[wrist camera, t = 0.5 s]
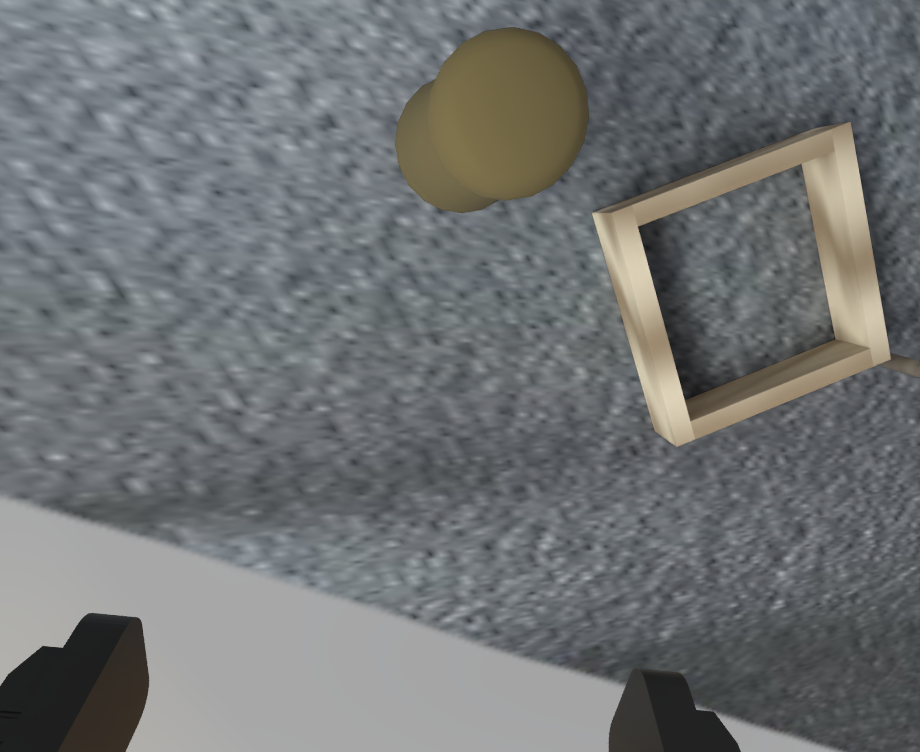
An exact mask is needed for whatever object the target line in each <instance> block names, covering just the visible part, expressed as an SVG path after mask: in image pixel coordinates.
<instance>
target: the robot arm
mask: <svg viewBox="0 0 920 752" xmlns="http://www.w3.org/2000/svg"><path fill="white" fill-rule="evenodd" d="M148 688H149V674H148V666H147V658H146V651H145V643H144V636H143V628H142V622H141V620H140V619H139V618H137V617H127V616H117V615H107V614H97V613H89V614H87V615H86V616H84V617H83V618H82V619H81V621H80V622H79V623H78V625H77V626H76V628H75V630H74V631H73V633H72V635H71V636H70V638H69V639H68V641H67V642H66V644H65V645H64V647H63V648H58V647H47V646H42V647H41V648H40V649H39V650H37V651H36V652H35V653H34V654H32V655H31V656H30V657H29V658H28V659H26V660H25V661H24V662H23V663H21V664H20V665H19V666H18V667H17V668H16V669H14V670H13V671H12V672H11V673H10V674H8V676H7V677H6V679H5V680H4V682H3V683H2V684H1V686H0V752H126V749H127V747H128V745H129V743H130V740H131V739H132V736H133V734H134V732H135V730H136V728H137V725H138V723H139V721H140V718H141V716H142V713H143V710H144V707H145V703H146V699H147V695H148ZM609 752H741V751H740V749H739V746H738V744H737V742H736V741H735V739H734V738H733V737H732V735H731V734H730V733H729V731H728V730H727V729H726V728H725V726H724V725H723V723H722V722H721V721H720V719H719V718H718V717H717V715H716V714H715V713H714V712H711V711H701V710H696V708H695V705H694V702H693V699H692V696H691V693H690V690H689V687H688V684H687V682H686V680H685V678H684V676H683V675H682V674H681V673H678V672H668V671H658V670H648V669H637V668H636V669H634V670H633V671H632V672H631V674H630V677H629V679H628V682H627V684H626V687H625V690H624V692H623V694H622V697H621V700H620V702H619V705H618V707H617V710H616V712H615V715H614V717H613V720H612V723H611V727H610V733H609Z"/></svg>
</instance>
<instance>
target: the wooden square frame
mask: <svg viewBox="0 0 920 752" xmlns="http://www.w3.org/2000/svg"><path fill="white" fill-rule="evenodd" d="M800 164H802V169H803V174H804V179H805V184H806V189H807V195H808V200H809V205H810V210H811V215H812V220H813V225H814V231H815V236H816V241H817V246H818V251H819V256H820V262H821V267H822V272H823V277H824V282H825V287H826V293H827V298H828V303H829V308H830V313H831V318H832V324H833V329H834V334H835V340H833V341H830V342H828V343H825V344H823V345H820V346H818V347H815V348H813V349H810V350H808V351H805V352H803V353H801V354H798V355H796V356H793V357H791V358H788V359H786V360H783V361H781V362H778V363H776V364H773V365H771V366H768V367H766V368H763V369H761V370H758V371H756V372H753V373H751V374H749V375H746V376H744V377H741V378H739V379H736V380H734V381H731V382H729V383H726V384H724V385H721V386H719V387H716V388H714V389H711V390H709V391H706V392H704V393H702V394H699V395H697V396H694V397H692V398H689V399H687V400H684V396H683V392H682V389H681V385H680V381H679V378H678V374H677V370H676V367H675V363H674V359H673V355H672V352H671V348H670V344H669V341H668V337H667V333H666V329H665V326H664V322H663V318H662V315H661V311H660V307H659V303H658V300H657V296H656V292H655V289H654V285H653V281H652V277H651V274H650V270H649V266H648V263H647V259H646V255H645V252H644V248H643V244H642V240H641V237H640V233H639V229H638V226H641V225H643V224H646V223H648V222H651V221H654V220H656V219H659V218H662V217H664V216H667V215H669V214H672V213H675V212H677V211H680V210H682V209H685V208H688V207H690V206H693V205H695V204H698V203H701V202H703V201H706V200H708V199H711V198H714V197H716V196H719V195H722V194H724V193H727V192H729V191H732V190H735V189H737V188H740V187H742V186H745V185H748V184H750V183H753V182H755V181H758V180H761V179H763V178H766V177H768V176H771V175H774V174H776V173H779V172H782V171H784V170H787V169H789V168H792V167H795V166H797V165H800ZM592 214H593V218H594V221H595V225H596V228H597V232H598V235H599V239H600V242H601V246H602V249H603V253H604V256H605V260H606V263H607V267H608V270H609V274H610V277H611V280H612V284H613V287H614V291H615V294H616V298H617V301H618V305H619V308H620V312H621V315H622V319H623V322H624V326H625V329H626V333H627V336H628V340H629V343H630V347H631V350H632V353H633V357H634V360H635V364H636V367H637V371H638V374H639V378H640V381H641V385H642V388H643V392H644V395H645V399H646V402H647V406H648V409H649V413H650V416H651V420H652V423H653V426H654V430H655V431H656V432H657V433H658V434H660V435H661V436H663V437H664V438H665V439H667V440H668V441H670V442H671V443H672V444H674V445H675V446H677V447H678V446H680V445H682V444H685V443H687V442H690V441H692V440H695V439H697V438H700V437H702V436H704V435H707V434H709V433H712V432H714V431H717V430H719V429H722V428H724V427H726V426H729V425H731V424H734V423H736V422H739V421H741V420H744V419H746V418H748V417H751V416H753V415H756V414H758V413H761V412H763V411H766V410H768V409H770V408H773V407H775V406H778V405H780V404H783V403H785V402H788V401H790V400H792V399H795V398H797V397H800V396H802V395H805V394H807V393H810V392H812V391H815V390H817V389H819V388H822V387H824V386H827V385H829V384H832V383H834V382H837V381H839V380H841V379H844V378H846V377H849V376H851V375H854V374H856V373H859V372H861V371H863V370H866V369H868V368H871V367H873V366H876V365H877V366H881V367H884V368H888V369H891V370H895V371H898V372H901V373H905V374H908V375H912V376H915V377H919V378H920V361H919V360H915V359H911V358H908V357H904V356H900V355H896V354H892V353H890V351H889V345H888V339H887V333H886V327H885V321H884V315H883V310H882V304H881V298H880V292H879V286H878V280H877V274H876V268H875V262H874V257H873V251H872V245H871V239H870V233H869V227H868V221H867V215H866V210H865V204H864V198H863V192H862V186H861V180H860V174H859V168H858V162H857V157H856V151H855V145H854V139H853V133H852V127H851V122H847V123H841V124H836V125H830V126H825V127H819V128H814V129H811V130H809V131H806V132H803V133H801V134H798V135H796V136H793V137H790V138H788V139H785V140H782V141H780V142H777V143H774V144H772V145H769V146H767V147H764V148H761V149H759V150H756V151H753V152H751V153H748V154H746V155H743V156H740V157H738V158H735V159H732V160H730V161H727V162H724V163H722V164H719V165H717V166H714V167H711V168H709V169H706V170H703V171H701V172H698V173H696V174H693V175H690V176H688V177H685V178H682V179H680V180H677V181H674V182H672V183H669V184H667V185H664V186H661V187H659V188H656V189H653V190H651V191H648V192H646V193H643V194H640V195H638V196H635V197H632V198H630V199H627V200H624V201H622V202H619V203H617V204H614V205H611V206H609V207H606V208H603V209H601V210H598V211H596V212H593V213H592Z"/></svg>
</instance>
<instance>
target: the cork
mask: <svg viewBox="0 0 920 752" xmlns="http://www.w3.org/2000/svg"><path fill="white" fill-rule="evenodd" d="M588 118H589V110H588V101H587V91H586V87H585V85H584V83H583V80H582V78H581V75H580V73H579V70H578V68H577V66H576V64H575V63H574V62H573V61H572V60H571V58H570V57H569V56H568V55H567V54H566V52H565V51H564V50H563V49H562V47H561V46H559V45H558V44H556V43H555V42H553V41H551V40H550V39H548V38H547V37H545V36H543V35H542V34H540V33H538V32H533V31H529V30H524V29H520V28H515V27H510V28H503V29H496V30H488V31H484V32H482V33H480V34H479V35H477V36H475V37H473V38H471V39H469V40H467V41H465V42H463V43H462V44H461V45H460V46H459V47H458V48H457V49H456V50H455V51H454V52H453V54H452V55H451V56H450V57H449V58H448V59H447V60H446V61H445V62H444V64H443V65H442V67H441V69H440V72H439V74H438V76H437V78H436V79H435V80H433V81H432V82H430V83H428V84H426V85H424V86H422V87H421V88H420V89H419V90H418V91H417V92H416V93H415V94H414V96H413V97H412V98H411V99H410V100H409V101H408V102H407V104H406V106H405V108H404V110H403V112H402V115H401V117H400V119H399V121H398V126H397V134H396V142H395V146H396V152H397V157H398V163H399V167H400V169H401V171H402V173H403V175H404V177H405V179H406V181H407V183H408V185H409V186H410V187H411V188H412V189H413V190H414V191H415V192H416V193H417V194H418V195H419V196H420V197H421V198H422V199H423V200H424V201H426V202H428V203H430V204H432V205H434V206H435V207H437V208H439V209H441V210H446V211H452V212H458V213H465V212H470V211H476V210H481V209H483V208H485V207H487V206H489V205H491V204H493V203H495V202H496V201H498V200H512V199H518V198H524V197H530V196H533V195H535V194H537V193H539V192H541V191H543V190H544V189H546V188H548V187H550V186H552V185H554V184H555V183H556V181H557V180H558V179H559V178H560V177H561V176H562V175H563V174H564V173H565V172H566V171H567V170H568V169H569V168H570V167H571V165H572V164H573V162H574V160H575V158H576V156H577V154H578V152H579V150H580V148H581V146H582V144H583V142H584V140H585V135H586V129H587V124H588Z"/></svg>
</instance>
